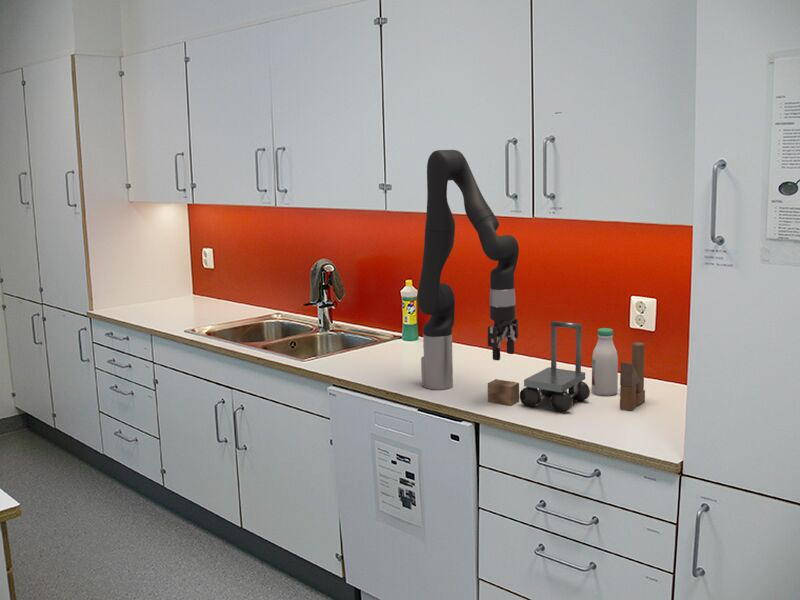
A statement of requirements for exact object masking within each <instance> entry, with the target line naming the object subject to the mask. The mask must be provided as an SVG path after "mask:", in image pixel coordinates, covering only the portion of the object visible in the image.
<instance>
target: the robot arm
mask: <svg viewBox="0 0 800 600" xmlns="http://www.w3.org/2000/svg"><path fill="white" fill-rule="evenodd" d="M468 163H469V162H468V161H467V159H466V158H465V155H464V154H463V153H462V152H461V151H459V150H456V149H437V150H433V152H431V154H430V155H429V156H428V160H427V165H426V188H427V191H426V192H427V193H426V195H427V197H426V198H427V199H426V217H425V218H426V219H425V227H424V228H425V229H424V239H423V240H424V241H423V243H424V244H423V254H422V255H423V256H422V264H421V265H422V266H421V272H420V279H419V283H418V288H417V296H416V300H417V305H418V308H419V311H420V312H421V313H422V314H424V315H426V316H430V318H429V319H428V320H427V322H426V323H424V325H423V327H422V336H423V337H422V338H423V340H422V341H423V356H422V357H421V358H420V362H421V363H420V365H421V369H420V371H421V386H422V387H424V388H426V389H429V390H437V391H438V390H439V391H440V390H447V389H448V390H449V389H451V388H452V387H453V386H454V379H453V378H454V377H453V376H454V375H453V374H454V373H453V372H454V371H453V370H454V369H453V327H454V325H455V319H456V318H455V312H456V297H455V293H454V290H453V289H452V287H451V286H450V285H449V284H447V283H445V282H441V276H442V274H443V273H442V272H443V269H444V266H445V264H446V263H447V261H448V259H449V258H450V255H451V253H452V250H453V247H454V244H455V236H456V233H455V232H456V222H455V218H454V215H453V212H452V210H451V209H450V208H451V207H450V205H449V202H448V193H447V191H448V182H449V181H453V182H454V183H455V185H456V186H457V188H458V189H459V190H460V192H461V194H462V199H463V206H464V210H465V214H466V217H467V218H468V220H469V222H470V223H471V225H472V226H473V228H474V229H475V231H476V233H477V236H478V238H479V239H478V240H479V242H480V245H481V248H482V251H483V253H484V255H485V256H486V257H487V258H488V259H489V260H491V261H494V262H497V265H496V266H495V268H493V269H491V271H490V274H489V287H490V290H489V291H490V292H489V318H490V320H492V321H493V322H494V323H493V326H491V325H490V326H487V346H488V347H489V348H490V347H491V348H492V351H491V352H492V360H493V361H500V360H501V345H502V344H501V343H502V342H503V341H504V340H506V353H507V354H508V355H514V354H515V342H516V339H518V338H519V322H518V319H517V316H516V315H517V314H516V313H517V312H516V311H517V310H516V292H515V271H516V268H517V264H518V259H519V256H520V255H519V252H520V248H519V243H518V240H517V239H516V237H515V236H513V235H511V234H504V235H498V234H497V230H498V229H499V226H500V221H499V220H498V218H497V216H496V215H495V213H494V212H493V210H492V209H491V207H490V206H489V205H488V203H487V201H486V199H485V197H484V196H483V194H482V193H481V190H480V188H479V186H478V183H477V181H476V179H475V177H474V174H473V172H472V170H471V167H470V165H469V164H468Z"/></svg>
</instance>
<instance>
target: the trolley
mask: <svg viewBox="0 0 800 600" xmlns="http://www.w3.org/2000/svg"><path fill="white" fill-rule="evenodd" d="M582 326H583V325H582V323H576V322H566V321H558V320H557V321H556V320H552V321H551V322H550V329H551V330H550V335H551V336H550V367H547V368H544V369H542V370H541V371H538V372H536V373H535V374H532V375H530V376H529V377H527V378H524V379H523V387H524V388H522V389H521V391H519V401H520V402H521V404H522V405H523V406H524V407H527V408H534V407H535V406H537V405H539V404H540V403H541V400H542V396H543V397H545V398H550V406H551V408H552V409H553V410H554V411H555V412H557V413H558V414H564V413H566V412H568V411H569V410H571V408H572V407H573V401H574V402H577V403H581V402H584V401H586V400H587V399H588V398H589V397H590V394H591V390H590V387H589V385H588V384H587V383H586V382H584V380H586V372H583V371H582ZM557 328H565V329H573V330H574V329H575V370H569V369H564V368H558V367H557V348H558V347H557V344H558V342H557V336H558V335H557Z"/></svg>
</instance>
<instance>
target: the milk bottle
mask: <svg viewBox="0 0 800 600" xmlns="http://www.w3.org/2000/svg"><path fill="white" fill-rule="evenodd" d="M597 337H598V338H597V342H596V345H595V347H594V349H593V352H592V358H591V359H592V361H591V392H592V393H593V394H595V395H597V396H607V397H608V396H613V395H617V393H618V387H619V386H618V385H619V383H618V380H619V379H618V378H619V375H618V373H619V371H618V370H619V367H618V366H619V356H618V351H617V349H616V346H615V343H614V341H613V337H614V329H612V328H608V327H602V328H598V329H597Z"/></svg>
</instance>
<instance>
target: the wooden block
mask: <svg viewBox="0 0 800 600" xmlns="http://www.w3.org/2000/svg"><path fill="white" fill-rule="evenodd" d="M645 346H646V344H645V343H643V342H640V341H636V342H633V343H632V344H631V362H624V361H620V364H619V365H620V368H619V369H620V370H619V371H620V373H619V374H620V375H619V376H620V377H619V378H620V379H619V386H620V389H619V391H620V392H619V409H620V410H622V411H628V412H631V411H633V410H635V409H636V407H638V406H641V405H642V404H643V403H644V402H645V401H646V390H645V388H644V387H645V357H646V356H645V354H646V351H645V350H646V349H645V348H646V347H645Z"/></svg>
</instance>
